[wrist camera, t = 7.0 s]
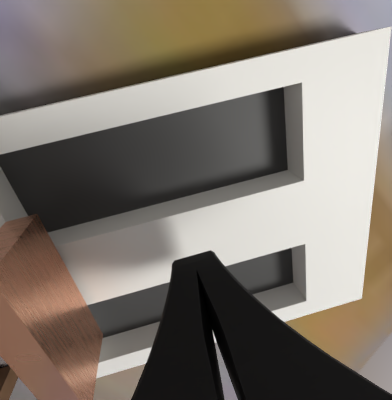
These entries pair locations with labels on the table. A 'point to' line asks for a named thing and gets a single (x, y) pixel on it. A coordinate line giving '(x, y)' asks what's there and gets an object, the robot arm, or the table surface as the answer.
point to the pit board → (207, 183)
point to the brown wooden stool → (7, 382)
